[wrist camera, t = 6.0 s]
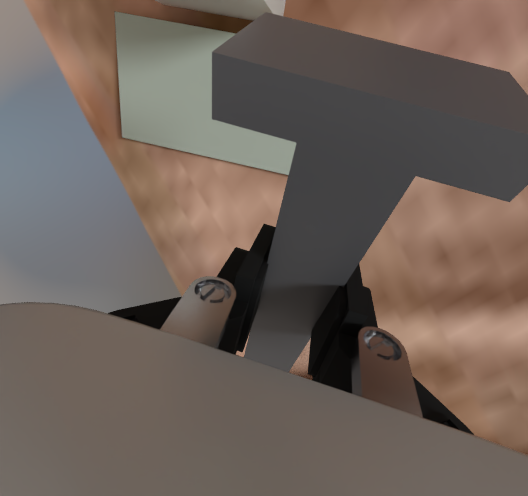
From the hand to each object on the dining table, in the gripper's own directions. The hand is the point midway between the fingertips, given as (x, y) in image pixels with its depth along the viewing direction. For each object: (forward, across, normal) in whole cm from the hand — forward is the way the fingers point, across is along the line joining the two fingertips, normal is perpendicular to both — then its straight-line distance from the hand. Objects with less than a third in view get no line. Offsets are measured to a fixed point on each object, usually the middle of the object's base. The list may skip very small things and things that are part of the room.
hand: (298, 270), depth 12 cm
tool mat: (+15, +8, -4) cm, 17 cm away
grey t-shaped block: (+2, 0, 0) cm, 2 cm away
